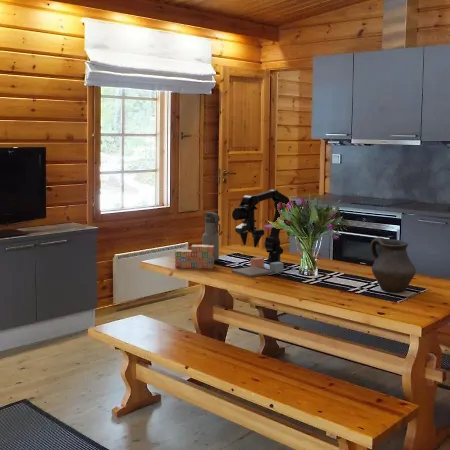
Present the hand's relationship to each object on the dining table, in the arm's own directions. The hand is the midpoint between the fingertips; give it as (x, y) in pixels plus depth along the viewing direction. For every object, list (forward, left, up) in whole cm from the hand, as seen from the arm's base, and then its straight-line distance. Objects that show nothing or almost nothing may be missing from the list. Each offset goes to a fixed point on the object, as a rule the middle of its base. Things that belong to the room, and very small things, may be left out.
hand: (249, 246), depth 355 cm
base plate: (+7, +10, -12) cm, 18 cm away
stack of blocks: (+23, -21, -13) cm, 33 cm away
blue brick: (-5, +16, -13) cm, 21 cm away
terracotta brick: (-5, 0, -13) cm, 14 cm away
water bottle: (+3, -33, -13) cm, 35 cm away
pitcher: (-22, +79, -13) cm, 83 cm away
